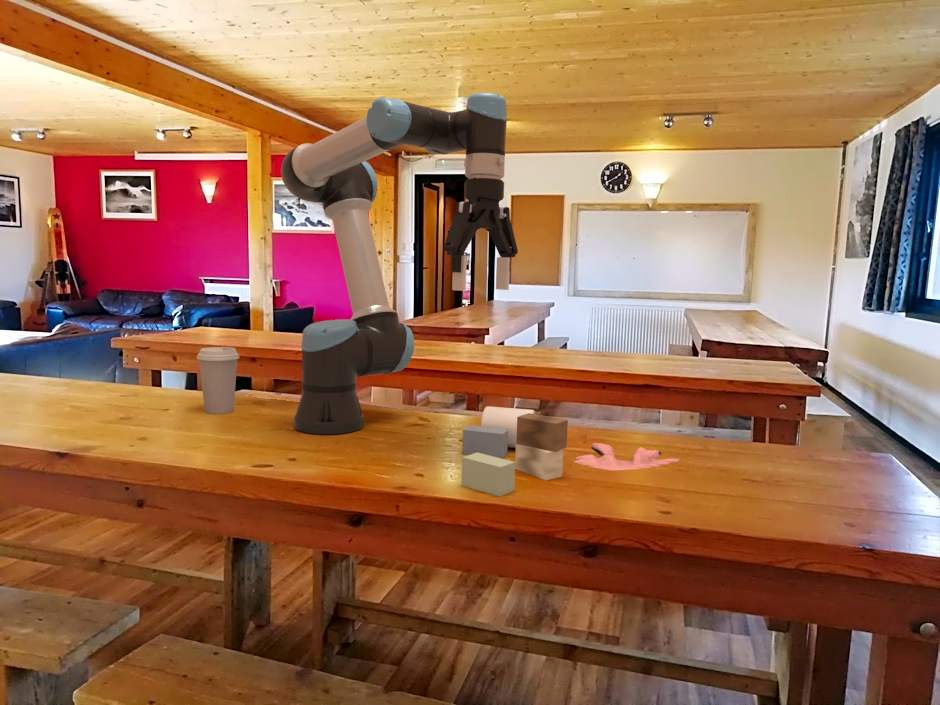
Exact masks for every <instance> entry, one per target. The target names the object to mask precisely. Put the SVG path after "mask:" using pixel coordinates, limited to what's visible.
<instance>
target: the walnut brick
mask: <svg viewBox="0 0 940 705" xmlns="http://www.w3.org/2000/svg"><path fill="white" fill-rule="evenodd" d="M568 420H569V419H563V418H558V417H554V416H553V417H552V416H548V415H543V414H542V415H541V414H536V413H535V414H531V413H528V414H525V415H521V416H518V417H517V439H516V444H519V445H524V446H528V447H533V448H538V449H543V450H548V451H553V452H557V451H560V450H562V449H563V450H564V449H566V448H567V446H568V445H567V442H568V424H569V421H568Z"/></svg>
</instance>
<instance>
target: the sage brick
mask: <svg viewBox="0 0 940 705" xmlns="http://www.w3.org/2000/svg"><path fill="white" fill-rule="evenodd" d="M515 476H516V469H515V461H512V460H509V459H505V458H502V459H501V458H497V457H493V456H489V455H485V454H482V453H478V452H477V453H474V454H471V455H465V456H462V457H461V486H462V487H466V488H470V489H473V490H476V491H479V492H482V493H486V494H489V495H493V496H496V497H503V496H505V495H508V494H509V493H512V492H514V491H515V483H516V481H515V478H516V477H515Z"/></svg>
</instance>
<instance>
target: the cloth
mask: <svg viewBox="0 0 940 705" xmlns="http://www.w3.org/2000/svg"><path fill="white" fill-rule="evenodd" d="M591 449H593V450H595V451H597V452H599V454H600V455H601V456H600V457H597V456H595V455H594V454H584V455H581V456H576V458H575V459H576V460H574V461H573V462H574V463H575V464H579V465H583V466H586V467H590V468H591V467H592V468H595V469H599V470H600V469H601V470H603V471H604V470H605V471H626V470H627V471H629V470H645V469H652V468H657V467H661V466H667V465H669V464H672V463H676V462H679V461H680V458H671V459H670V458H663V459H660V458H661V456H660V455H662V452H661V451H660V450H659V449H658V450H657V449H653V450H652V449H649V450H648V449H646V448H643V447H642V446H641V447H638V448H636V451H635V452H634V454H632V457H631V460H630V461H629V460H623V459H618V458H616V455H615V452H616V451H615V450H614V448H613V447H612V446H611V445H609V444H604V443H597V442H593V443H592V445H591ZM659 454H660V455H659ZM659 457H660V458H659ZM657 458H658V459H657Z"/></svg>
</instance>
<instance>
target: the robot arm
mask: <svg viewBox="0 0 940 705" xmlns="http://www.w3.org/2000/svg"><path fill="white" fill-rule="evenodd" d="M466 103H467V104H466V106H465V108H466V109H463V110H458V111H452V112H451V111H446V110H442V109H436V108H433V107H432V108H431V107H428V106H423V105H419V104H417V103H413V102H408V101H404V100H401V99H399V98H395V97H392V98H391V97H378V98H376V99H374V101H372V104H371V106H369V108H368V110H367V113H366V116H365V117H363V118H361V119H359V120H357V121H355V122H353V123H352V124H349V125H347V126H346V127H344V128H341V129H340V130H338V131H336V132H334V133H332V134H330V135H328V136H326V137H324V138H322V139H321V140H318V141H317V142H315V143H307V142H306V143H302V144H299V145H297V146H296V147H294V148H292V149H291V150H290V151H289V152H287V154H285V156H284V158H283V160H282V163H281V167H280V175H281V180H282V183H283V184H284V187H285V188H286V189H287V190H288V192H290V193H291V195H293V196H294V197H295V198H298V199H299V200H301V201H305V202H311V203H318V204H322V208H323V209H322V210H323V213H324V216H325V217H326V218H328V219H330V220H331V221H332V223H333V230H334V233H335V238H336V242H337V246H338V250H339V251H338V252H339V256H340V260H341V264H342V269H343V275H344V279H345V282H346V283H345V284H346V287H347V292H348V297H349V301H350V306H351V311H352V316H351V318H350V319H344V318H343V319H342V318H341V319H334V320H333V319H330V320H329V319H328V320H322V321H317V322H314V323H313V322H312V323H310V324H308V325H307V326H305V328H304V329H303V331H302V337H301V344H300V348H301V363H302V364H301V368H302V369H301V370H302V372H301V373H302V379H301V380H302V383H301V384H302V385H301V386H302V391H301V396H300V399H299V402H298V406H297V410H296V412H295V415H294V418H293V419H294V420H293V425H294V426H293V427H294V429H295V430H296V431H299V432H302V433H306V434H314V435H315V434H316V435H338V434H339V435H340V434H348V433H352V432H356V431H359V430H361V429H362V428H364V425H365V424H364V423H365V422H364V420H365V418H364V413H363V412H362V411H363V410H362V407H361V403H360V401H359V398H358V394H357V378H358V377H359V378H360V377H366V376H367V377H368V376H377V375H390V374H392V373H396V372H400V371H403V370H404V369H405V368H406V367H407V366H409V363H410V362H411V361H412V360H411V359H412V357H413V355H414V351H415V338H414V334H413V331H412V329H411V328H410V327H409V326H408V325H407V324H405V323H404V322H400V320H399V315H398V312H397V311H396V310H394V309H393V308H391V307H390V304H389V301H388V295H387V292H386V286H385V283H384V279H383V274H382V271H381V270H382V269H381V265H380V261H379V256H378V253H377V248H376V244H375V240H374V236H373V230H372V224H371V223H370V217H369V212H370V211H371V210H372V209H373V203H374V201H375V200H376V197H377V194H378V193H377V191H376V190H378V178H377V175H376V172H375V170H374V168H373V167H372V165H371V164H370V163H369V162H367V161H368V160H370V159H373V158H375V157H377V156H380V155H381V154H385V153H386V152H388V151H391V150H393V149H396V148H398V147H401V146H404V145H405V146H410V147H411V146H412V147H418V148H424V149H425V150H426V151H428V152H429V153H430V154H433V155H436V154H437V155H439V154H440V155H448V154H451V153H458V152H464V151H465V165H464V166H465V169H464V170H465V171H464V176H465V177H466V178H467V179H466V180H465V181H464V198H465V200H468V201H457V202H456V204H455V213H454V217H453V219H452V223H451V225H450V228H449V230H448V233H447V235H446V239H445V242H444V245H443V250H444V252H446V255H448V256H451V266H450V268H451V269H450V270H451V273H452V276H451V277H452V280H451V281H452V282H451V284H452V285H451V290H452V291H458V292H459V291H461V292H463V291H464V292H466V291H467V290H466V289H467V287H466V286H467V259H468V258H467V255H464V253H465V252H466V250H467V248H468V246H469V244H470V243H471V241H472V240H473V238H474V236H475V234H476V232H477V231H478V230H479V229H483V230H484V229H485V231H486V232H488V233H489V235H490V237H491V239H492V243H493V244H494V246H495V248H496V251H497V253H498V255H499V257H498V256H497V257H496V267H495V268H496V271H495V272H496V275H495V290H499V291H500V290H502V291H509V290H510V289H509V288H510V285H509V284H510V271H511V258H515V257H516V255H517V254H518V253H519V249H518V246H517V242H516V238H515V234H514V229H513V225H512V222H511V221H512V220H511V213H510V208H509V207H508V206H505V207H504V206H501V207H500V201H503V199H504V197H505V182H504V181H503V180H502V179H503V178H504V177H505V158H506V157H505V156H506V137H507V136H506V134H507V122H508V118H507V117H508V116H507V101H506V98H505V97H504V96H502V95H500V94H499V93H498V94H497V93H494V92H476V93H473V94H470V95H469V96H468V98H467V102H466Z"/></svg>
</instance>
